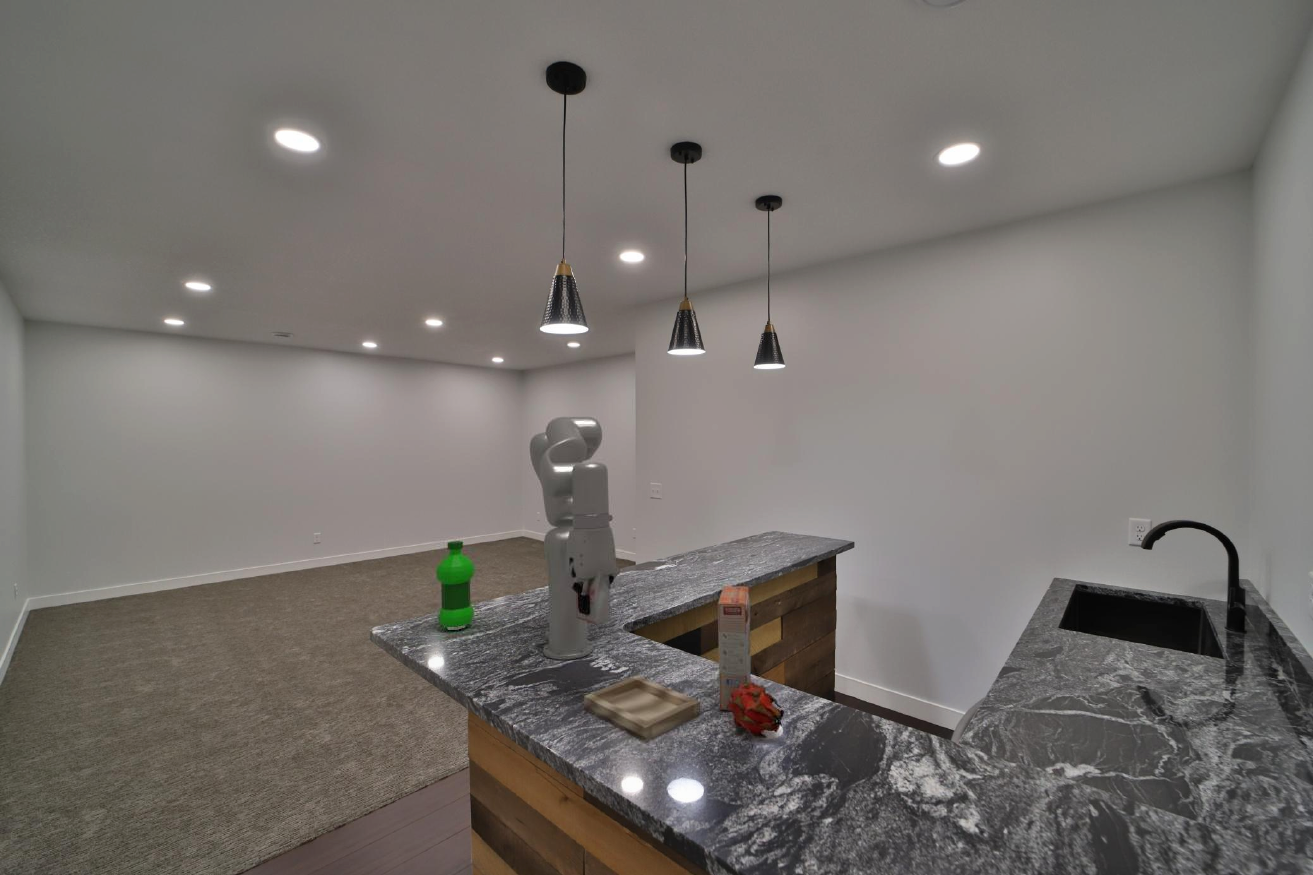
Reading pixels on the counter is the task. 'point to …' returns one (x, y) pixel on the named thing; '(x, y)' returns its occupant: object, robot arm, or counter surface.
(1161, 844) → the counter surface
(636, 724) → the wooden tray
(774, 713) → the dragon fruit
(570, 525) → the robot arm
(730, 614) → the cracker box
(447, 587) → the plastic bottle
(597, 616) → the white cardboard box
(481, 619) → the counter surface
